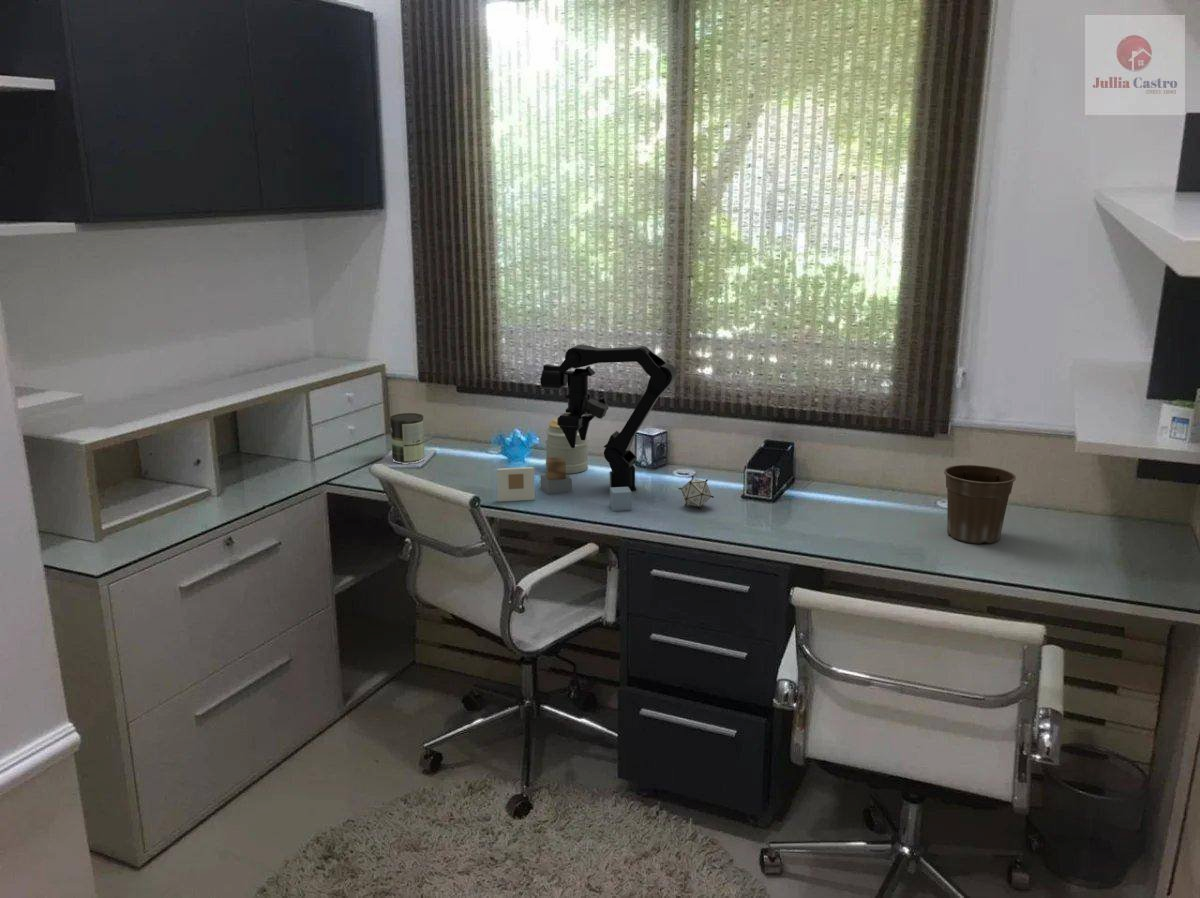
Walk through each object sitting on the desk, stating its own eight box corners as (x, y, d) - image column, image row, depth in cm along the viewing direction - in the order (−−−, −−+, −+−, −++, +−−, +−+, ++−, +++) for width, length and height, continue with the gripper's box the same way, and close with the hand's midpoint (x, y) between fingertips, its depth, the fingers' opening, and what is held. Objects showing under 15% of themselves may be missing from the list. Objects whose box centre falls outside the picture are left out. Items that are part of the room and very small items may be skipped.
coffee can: (387, 464, 301) (385, 419, 297) (397, 455, 311) (395, 412, 307) (420, 464, 300) (418, 420, 296) (429, 456, 310) (427, 413, 306)
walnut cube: (564, 473, 277) (563, 457, 275) (565, 478, 272) (565, 461, 271) (546, 474, 276) (546, 457, 275) (548, 479, 271) (547, 462, 270)
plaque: (534, 498, 266) (533, 467, 264) (534, 500, 265) (534, 468, 263) (497, 500, 265) (496, 468, 262) (498, 501, 263) (497, 470, 261)
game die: (702, 519, 261) (726, 492, 257) (684, 515, 254) (708, 488, 251) (684, 496, 266) (707, 470, 262) (666, 492, 259) (689, 465, 256)
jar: (538, 471, 292) (537, 414, 288) (556, 461, 304) (556, 406, 299) (578, 476, 287) (577, 418, 283) (595, 465, 299) (594, 409, 294)
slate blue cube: (627, 504, 262) (628, 486, 260) (631, 510, 257) (631, 492, 256) (609, 505, 261) (609, 487, 260) (612, 511, 256) (613, 493, 255)
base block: (564, 485, 279) (563, 472, 278) (572, 492, 273) (571, 478, 272) (540, 488, 277) (540, 474, 276) (548, 495, 270) (548, 481, 269)
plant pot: (945, 521, 248) (951, 460, 243) (1013, 532, 240) (1020, 469, 236) (931, 540, 234) (937, 476, 230) (1003, 552, 226) (1010, 486, 222)
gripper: (595, 398, 262) (595, 454, 266) (614, 385, 279) (614, 438, 283) (556, 396, 265) (557, 451, 269) (577, 383, 282) (578, 435, 286)
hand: (578, 443), depth 276 cm, fingers open, 9 cm apart
